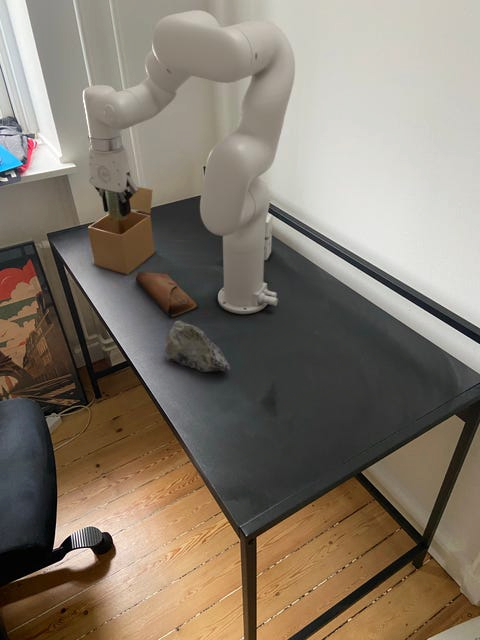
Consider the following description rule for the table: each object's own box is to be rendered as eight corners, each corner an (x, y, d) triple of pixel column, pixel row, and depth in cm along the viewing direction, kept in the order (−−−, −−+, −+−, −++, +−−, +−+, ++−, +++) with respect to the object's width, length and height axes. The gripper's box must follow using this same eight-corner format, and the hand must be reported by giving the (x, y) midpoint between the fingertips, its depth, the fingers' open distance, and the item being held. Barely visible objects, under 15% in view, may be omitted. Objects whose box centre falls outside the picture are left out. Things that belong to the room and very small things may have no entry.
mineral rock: (233, 377, 106) (233, 339, 100) (184, 393, 102) (180, 355, 96) (208, 340, 115) (206, 304, 109) (162, 355, 111) (157, 317, 105)
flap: (117, 205, 142) (118, 205, 143) (149, 213, 139) (150, 213, 139) (119, 182, 140) (119, 182, 141) (152, 189, 137) (152, 189, 137)
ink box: (237, 256, 144) (236, 217, 137) (242, 248, 148) (242, 209, 141) (267, 261, 142) (268, 221, 135) (271, 252, 146) (273, 214, 139)
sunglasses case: (200, 304, 125) (186, 289, 120) (179, 325, 124) (164, 311, 119) (164, 272, 137) (150, 257, 132) (145, 291, 136) (130, 276, 131)
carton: (123, 244, 150) (117, 207, 143) (154, 252, 146) (150, 215, 139) (95, 264, 141) (87, 227, 134) (127, 274, 137) (121, 236, 130)
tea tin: (132, 215, 137) (127, 182, 131) (120, 222, 133) (115, 189, 128) (116, 211, 139) (111, 179, 133) (104, 218, 135) (99, 186, 130)
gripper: (68, 141, 124) (82, 211, 135) (126, 152, 118) (136, 225, 129) (89, 132, 130) (100, 200, 141) (145, 143, 124) (153, 213, 135)
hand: (117, 211), depth 135 cm, fingers closed on tea tin, 4 cm apart
